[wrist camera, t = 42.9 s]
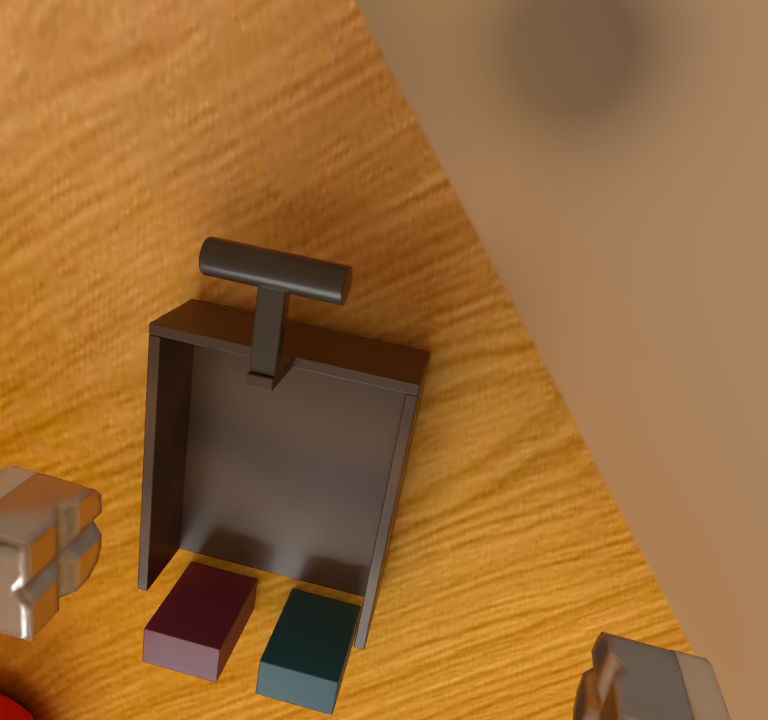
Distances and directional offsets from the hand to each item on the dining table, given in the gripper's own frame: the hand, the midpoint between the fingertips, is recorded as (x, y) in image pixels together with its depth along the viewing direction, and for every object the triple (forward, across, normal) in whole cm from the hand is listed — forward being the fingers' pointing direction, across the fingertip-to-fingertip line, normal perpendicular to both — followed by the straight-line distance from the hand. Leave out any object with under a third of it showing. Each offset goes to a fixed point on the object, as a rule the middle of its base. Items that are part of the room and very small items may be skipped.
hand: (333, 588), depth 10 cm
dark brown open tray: (+24, +7, +10) cm, 27 cm away
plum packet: (+21, +11, +22) cm, 32 cm away
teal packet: (+21, +4, +22) cm, 31 cm away
